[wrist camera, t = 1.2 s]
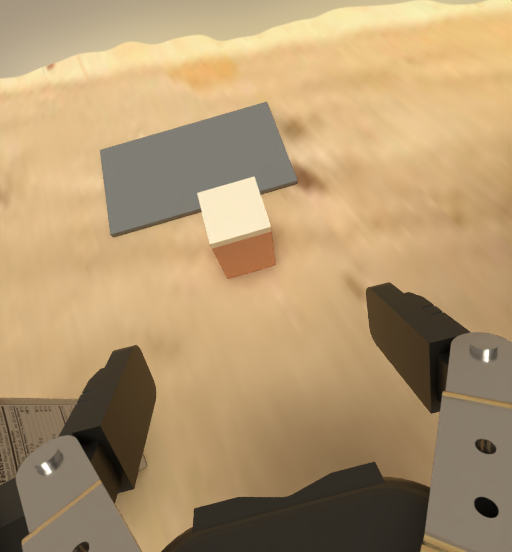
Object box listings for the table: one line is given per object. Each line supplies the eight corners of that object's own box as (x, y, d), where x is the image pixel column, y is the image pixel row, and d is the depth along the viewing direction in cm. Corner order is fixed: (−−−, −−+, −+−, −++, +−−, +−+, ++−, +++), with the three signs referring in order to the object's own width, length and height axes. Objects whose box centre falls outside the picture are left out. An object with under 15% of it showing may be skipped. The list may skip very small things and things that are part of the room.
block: (262, 223, 36) (254, 176, 28) (275, 265, 34) (271, 226, 26) (216, 236, 36) (197, 192, 28) (227, 278, 34) (209, 244, 26)
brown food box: (50, 525, 28) (-236, 673, 13) (32, 448, 30) (-230, 496, 15) (150, 467, 28) (-8, 542, 13) (125, 396, 31) (-35, 392, 16)
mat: (267, 105, 41) (266, 101, 41) (297, 183, 37) (297, 180, 36) (102, 153, 41) (99, 150, 41) (113, 237, 37) (110, 234, 36)
